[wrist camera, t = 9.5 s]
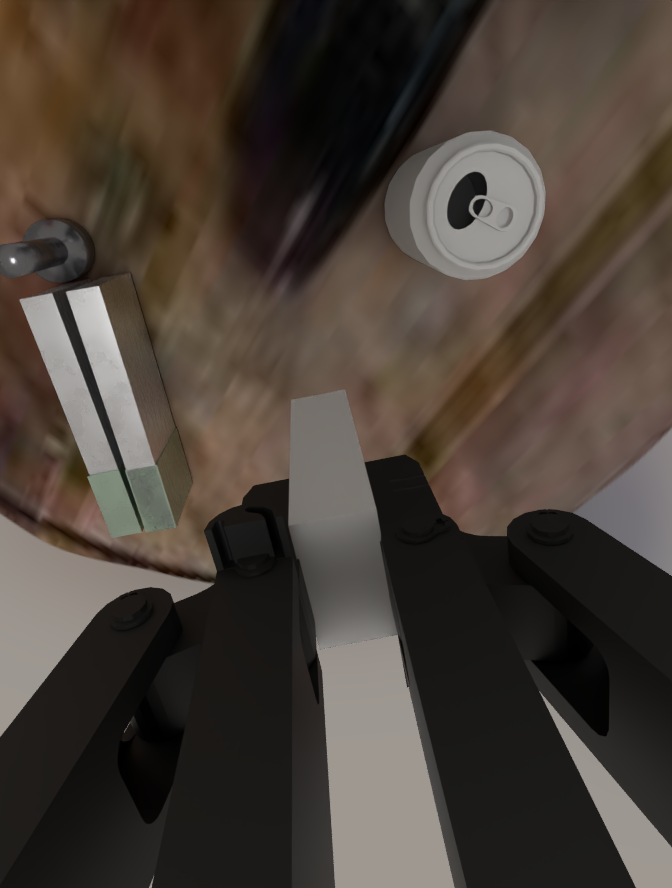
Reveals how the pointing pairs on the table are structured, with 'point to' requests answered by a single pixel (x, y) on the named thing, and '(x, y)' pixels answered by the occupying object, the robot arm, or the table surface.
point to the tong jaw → (133, 397)
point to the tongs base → (73, 358)
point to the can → (467, 204)
